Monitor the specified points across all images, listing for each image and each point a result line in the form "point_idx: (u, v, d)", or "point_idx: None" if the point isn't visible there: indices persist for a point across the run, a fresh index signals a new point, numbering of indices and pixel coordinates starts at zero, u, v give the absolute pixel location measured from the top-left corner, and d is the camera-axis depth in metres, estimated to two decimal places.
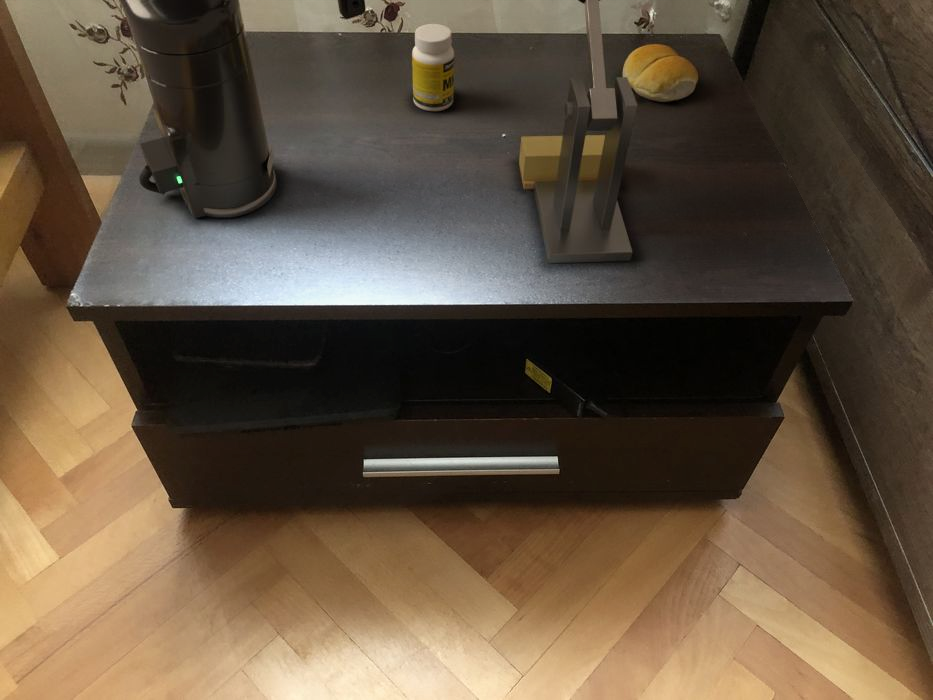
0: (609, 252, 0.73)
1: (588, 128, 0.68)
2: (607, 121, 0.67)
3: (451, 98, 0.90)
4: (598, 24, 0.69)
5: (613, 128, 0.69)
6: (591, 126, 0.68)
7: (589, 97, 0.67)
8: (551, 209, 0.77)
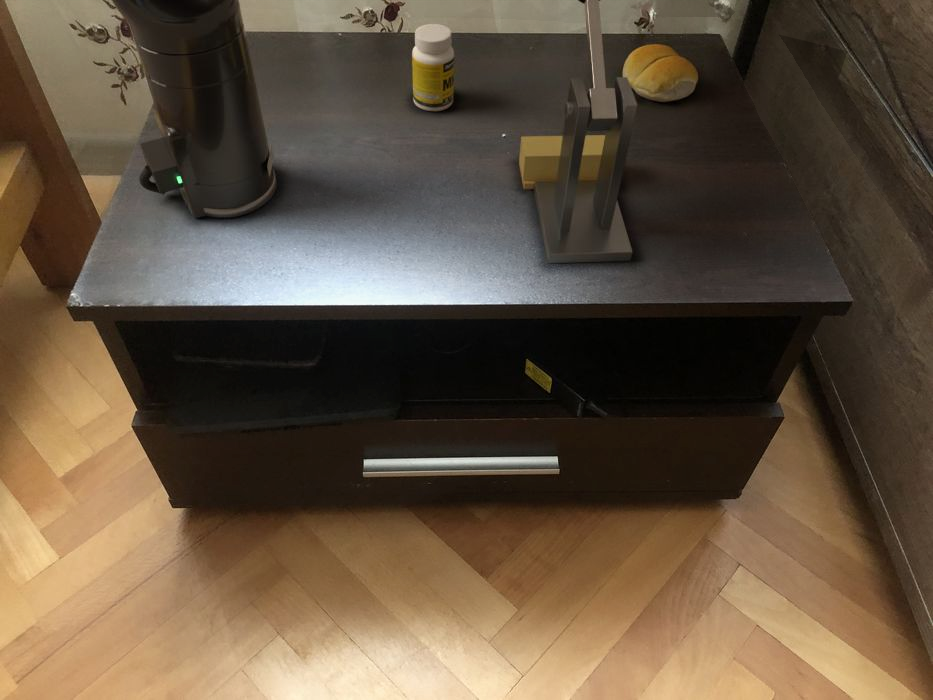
0: (609, 252, 0.73)
1: (588, 128, 0.68)
2: (607, 121, 0.67)
3: (451, 98, 0.90)
4: (598, 24, 0.69)
5: (613, 128, 0.69)
6: (591, 126, 0.68)
7: (589, 97, 0.67)
8: (551, 209, 0.77)
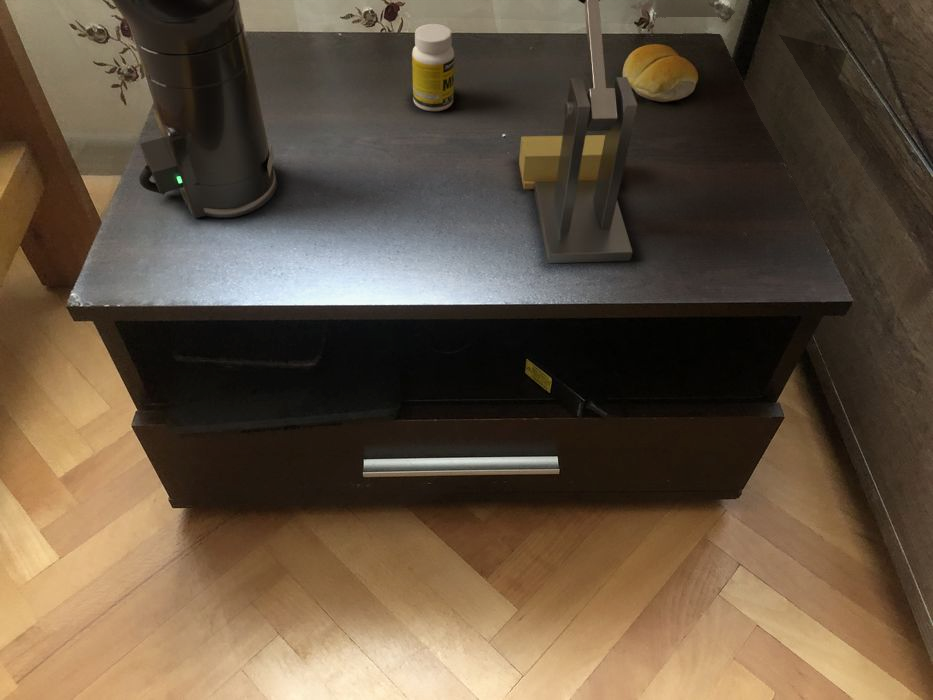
0: (609, 252, 0.73)
1: (588, 128, 0.68)
2: (607, 121, 0.67)
3: (451, 98, 0.90)
4: (598, 24, 0.69)
5: (613, 128, 0.69)
6: (591, 126, 0.68)
7: (589, 97, 0.67)
8: (551, 209, 0.77)
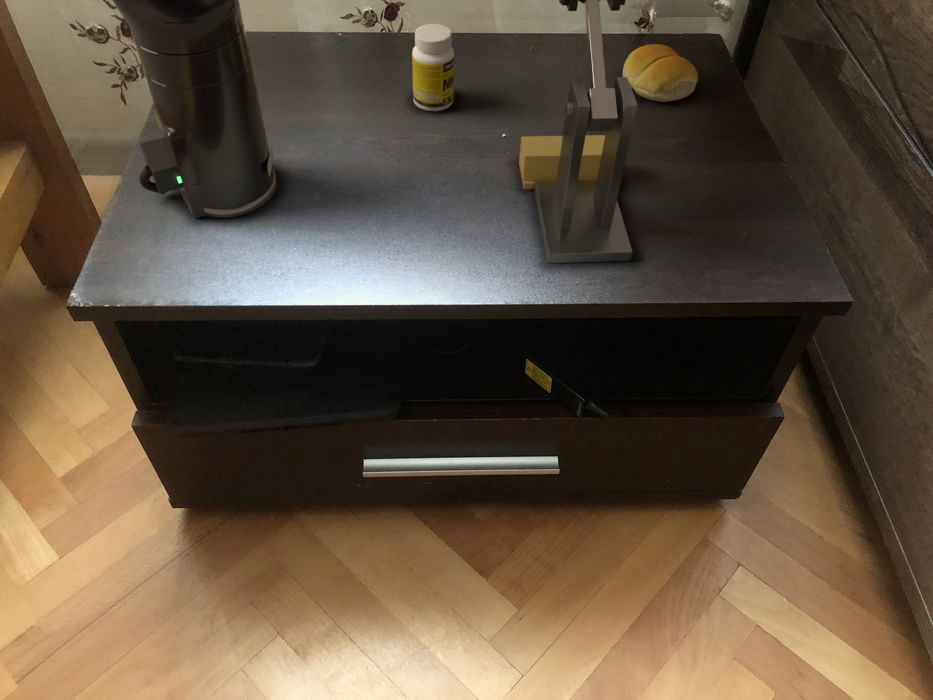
0: (609, 252, 0.73)
1: (588, 128, 0.68)
2: (607, 121, 0.67)
3: (451, 98, 0.90)
4: (598, 24, 0.69)
5: (613, 128, 0.69)
6: (591, 126, 0.68)
7: (589, 97, 0.67)
8: (551, 209, 0.77)
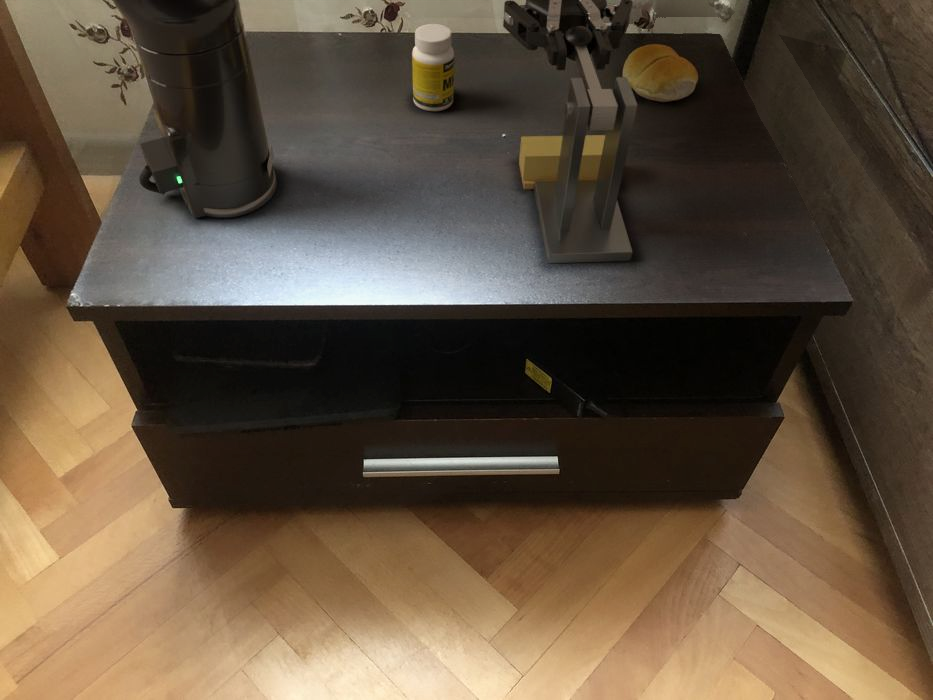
0: (609, 252, 0.73)
1: (590, 125, 0.67)
2: (608, 112, 0.66)
3: (451, 98, 0.90)
4: (589, 60, 0.73)
5: None
6: (593, 121, 0.67)
7: (587, 96, 0.68)
8: (551, 209, 0.77)
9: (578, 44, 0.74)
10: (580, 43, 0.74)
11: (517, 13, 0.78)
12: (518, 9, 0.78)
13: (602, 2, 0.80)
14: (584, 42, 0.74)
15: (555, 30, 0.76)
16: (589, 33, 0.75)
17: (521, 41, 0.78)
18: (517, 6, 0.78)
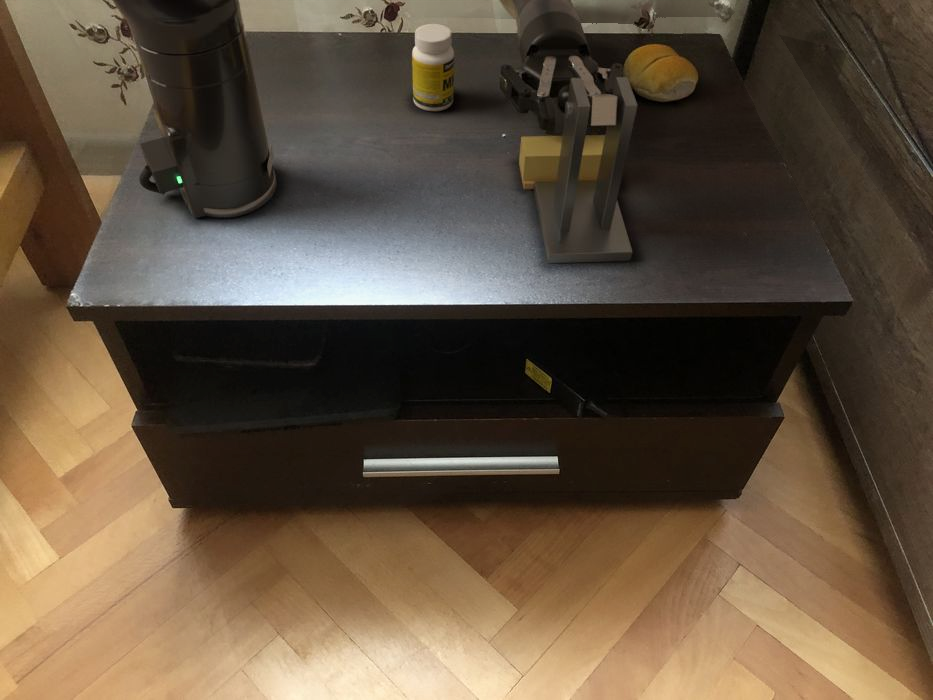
0: (609, 252, 0.73)
1: (592, 119, 0.67)
2: (608, 103, 0.66)
3: (451, 98, 0.90)
4: None
5: (613, 128, 0.69)
6: (594, 114, 0.67)
7: None
8: (551, 209, 0.77)
9: None
10: None
11: (511, 78, 0.82)
12: (513, 74, 0.83)
13: (594, 67, 0.85)
14: None
15: (545, 97, 0.80)
16: None
17: (514, 104, 0.83)
18: (512, 71, 0.83)
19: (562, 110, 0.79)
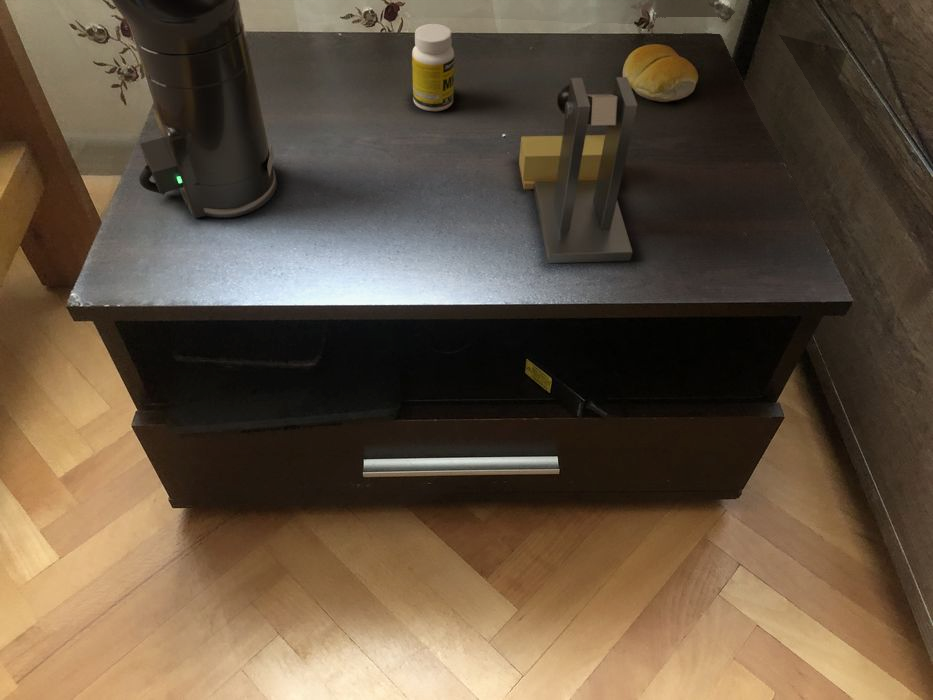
0: (609, 252, 0.73)
1: (592, 119, 0.67)
2: (608, 103, 0.66)
3: (451, 98, 0.90)
4: None
5: (613, 128, 0.69)
6: (594, 114, 0.67)
7: None
8: (551, 209, 0.77)
9: None
10: None
11: None
12: None
13: None
14: None
15: None
16: None
17: None
18: None
19: (562, 110, 0.79)
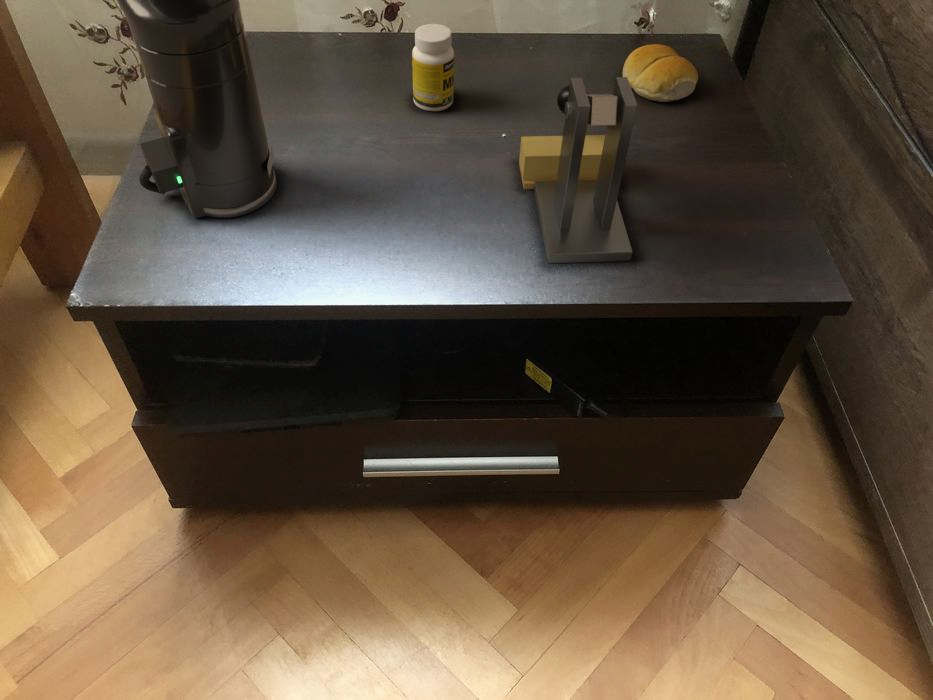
0: (609, 252, 0.73)
1: (592, 119, 0.67)
2: (608, 103, 0.66)
3: (451, 98, 0.90)
4: None
5: (613, 128, 0.69)
6: (594, 114, 0.67)
7: None
8: (551, 209, 0.77)
9: None
10: None
11: None
12: None
13: None
14: None
15: None
16: None
17: None
18: None
19: (562, 110, 0.79)
